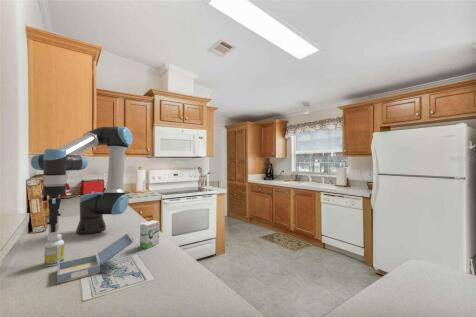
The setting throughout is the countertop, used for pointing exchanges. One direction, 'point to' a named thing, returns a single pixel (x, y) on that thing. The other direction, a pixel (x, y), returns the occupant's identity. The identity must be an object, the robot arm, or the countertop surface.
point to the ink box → (149, 234)
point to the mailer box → (77, 268)
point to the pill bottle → (54, 251)
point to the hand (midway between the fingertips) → (53, 235)
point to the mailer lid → (115, 248)
